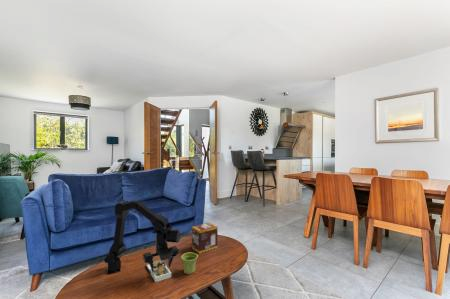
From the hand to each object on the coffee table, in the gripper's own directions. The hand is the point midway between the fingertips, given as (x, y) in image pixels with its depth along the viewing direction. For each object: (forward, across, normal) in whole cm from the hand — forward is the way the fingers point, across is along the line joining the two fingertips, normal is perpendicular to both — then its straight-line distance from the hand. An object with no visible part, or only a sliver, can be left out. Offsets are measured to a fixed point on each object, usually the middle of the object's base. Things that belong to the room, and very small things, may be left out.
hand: (161, 269), depth 121 cm
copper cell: (+3, 0, 0) cm, 3 cm away
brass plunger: (+3, +1, +10) cm, 11 cm away
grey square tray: (+4, +1, +10) cm, 11 cm away
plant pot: (+4, +15, -4) cm, 16 cm away
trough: (+4, 0, 0) cm, 4 cm away
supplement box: (+4, +37, +18) cm, 41 cm away
